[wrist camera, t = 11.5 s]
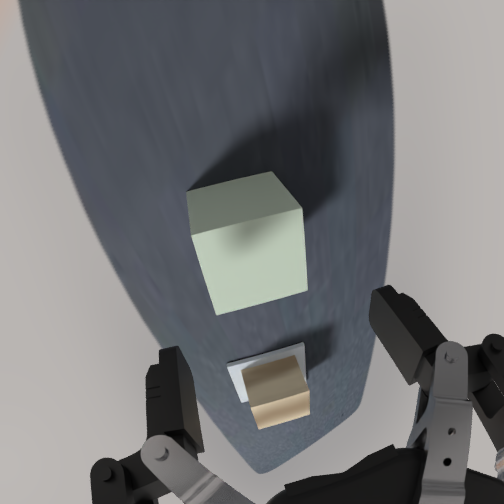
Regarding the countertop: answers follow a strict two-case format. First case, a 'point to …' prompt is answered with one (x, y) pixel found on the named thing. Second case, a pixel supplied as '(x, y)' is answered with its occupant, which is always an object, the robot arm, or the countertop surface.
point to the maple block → (276, 391)
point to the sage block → (248, 241)
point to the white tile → (263, 359)
